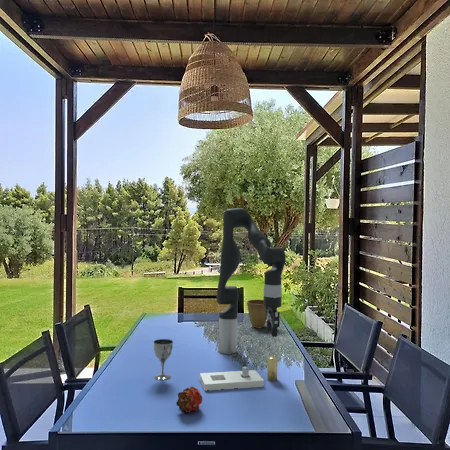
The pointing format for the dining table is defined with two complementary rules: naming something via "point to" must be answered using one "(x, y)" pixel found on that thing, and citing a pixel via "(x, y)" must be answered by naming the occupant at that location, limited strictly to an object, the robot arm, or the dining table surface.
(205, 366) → the dining table surface
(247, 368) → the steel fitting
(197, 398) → the dragon fruit
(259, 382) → the plate
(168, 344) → the wine glass
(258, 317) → the plant pot
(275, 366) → the cylinder
